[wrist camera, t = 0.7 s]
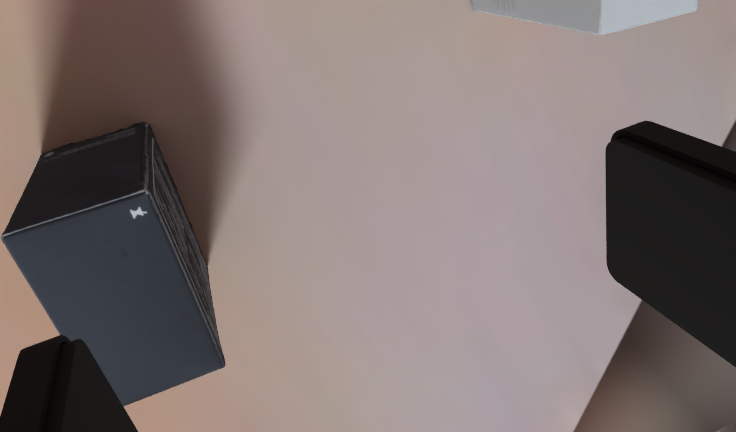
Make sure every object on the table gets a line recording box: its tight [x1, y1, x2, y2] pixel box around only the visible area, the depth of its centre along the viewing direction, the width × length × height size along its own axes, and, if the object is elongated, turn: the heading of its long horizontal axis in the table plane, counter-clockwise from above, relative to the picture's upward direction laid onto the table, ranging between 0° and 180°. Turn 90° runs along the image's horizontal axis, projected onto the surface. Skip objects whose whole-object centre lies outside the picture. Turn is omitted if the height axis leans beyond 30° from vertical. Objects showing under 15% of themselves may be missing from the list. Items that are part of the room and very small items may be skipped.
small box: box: [1, 122, 225, 406], centre depth 31 cm, size 11×6×10 cm, turn 12°
